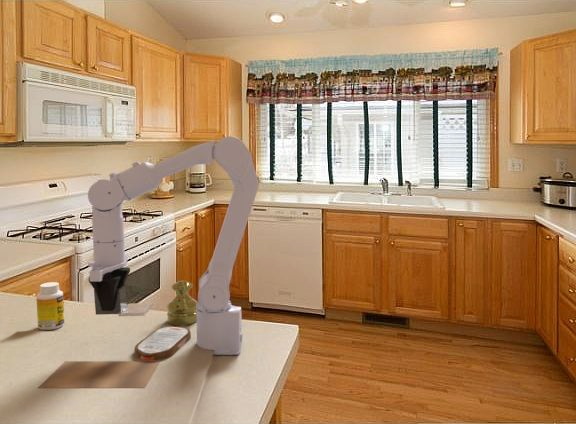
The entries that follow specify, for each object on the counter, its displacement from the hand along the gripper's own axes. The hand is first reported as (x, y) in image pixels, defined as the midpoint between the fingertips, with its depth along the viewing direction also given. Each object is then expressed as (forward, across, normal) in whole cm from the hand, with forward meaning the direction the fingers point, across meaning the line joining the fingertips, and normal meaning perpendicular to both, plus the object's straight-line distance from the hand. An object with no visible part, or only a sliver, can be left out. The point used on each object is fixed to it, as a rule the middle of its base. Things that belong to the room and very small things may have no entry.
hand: (111, 307), depth 91 cm
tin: (+8, -3, +6) cm, 10 cm away
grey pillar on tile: (+1, 0, +2) cm, 3 cm away
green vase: (+10, -19, +10) cm, 24 cm away
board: (+10, +11, +2) cm, 15 cm away
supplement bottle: (+10, -15, -20) cm, 27 cm away
